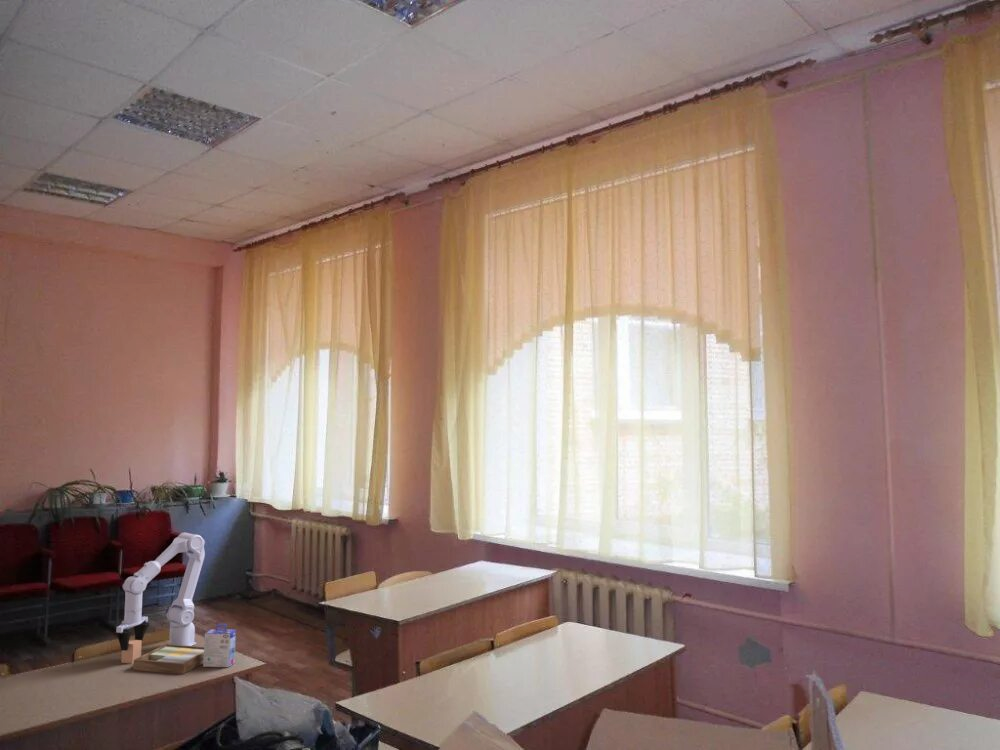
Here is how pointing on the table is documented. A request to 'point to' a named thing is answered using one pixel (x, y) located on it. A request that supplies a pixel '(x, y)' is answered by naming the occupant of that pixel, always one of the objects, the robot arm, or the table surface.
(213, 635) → the ink cartridge box
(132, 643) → the terracotta block
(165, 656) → the puzzle tray
